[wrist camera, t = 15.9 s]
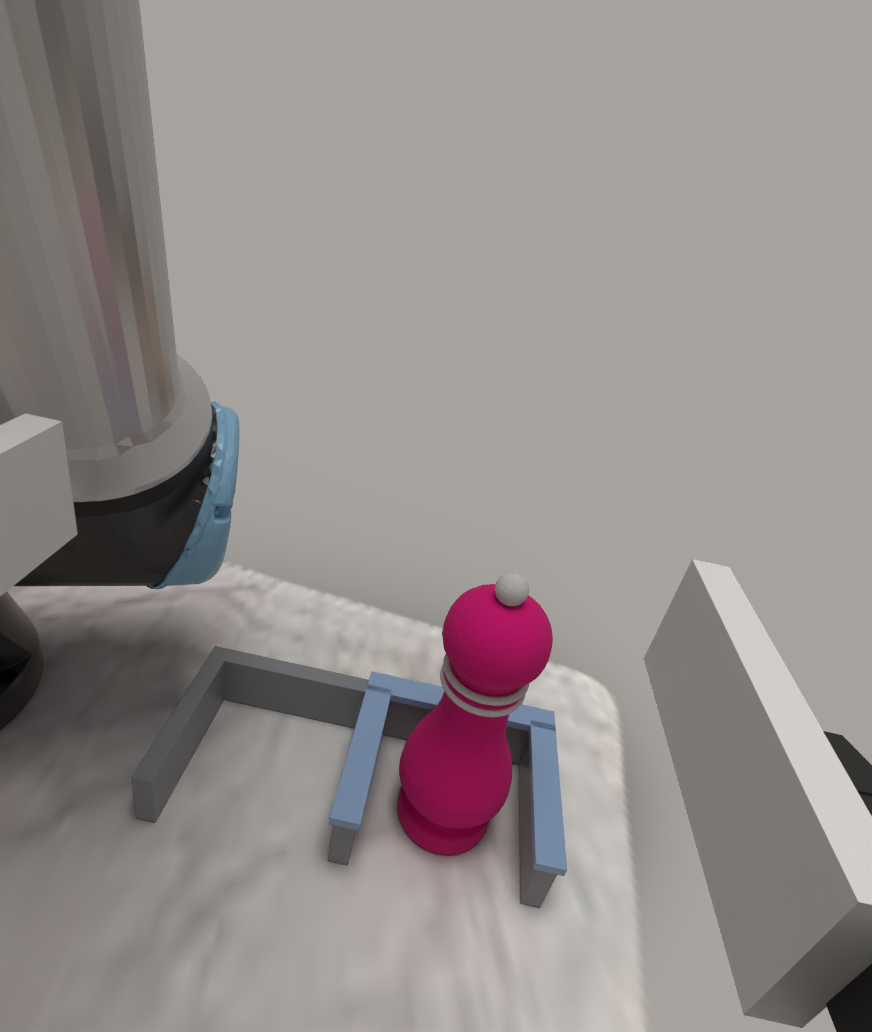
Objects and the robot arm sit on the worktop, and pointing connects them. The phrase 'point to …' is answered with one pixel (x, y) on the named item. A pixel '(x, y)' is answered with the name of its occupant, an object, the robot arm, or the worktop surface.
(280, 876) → the worktop surface
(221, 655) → the divider rack
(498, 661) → the pepper mill
